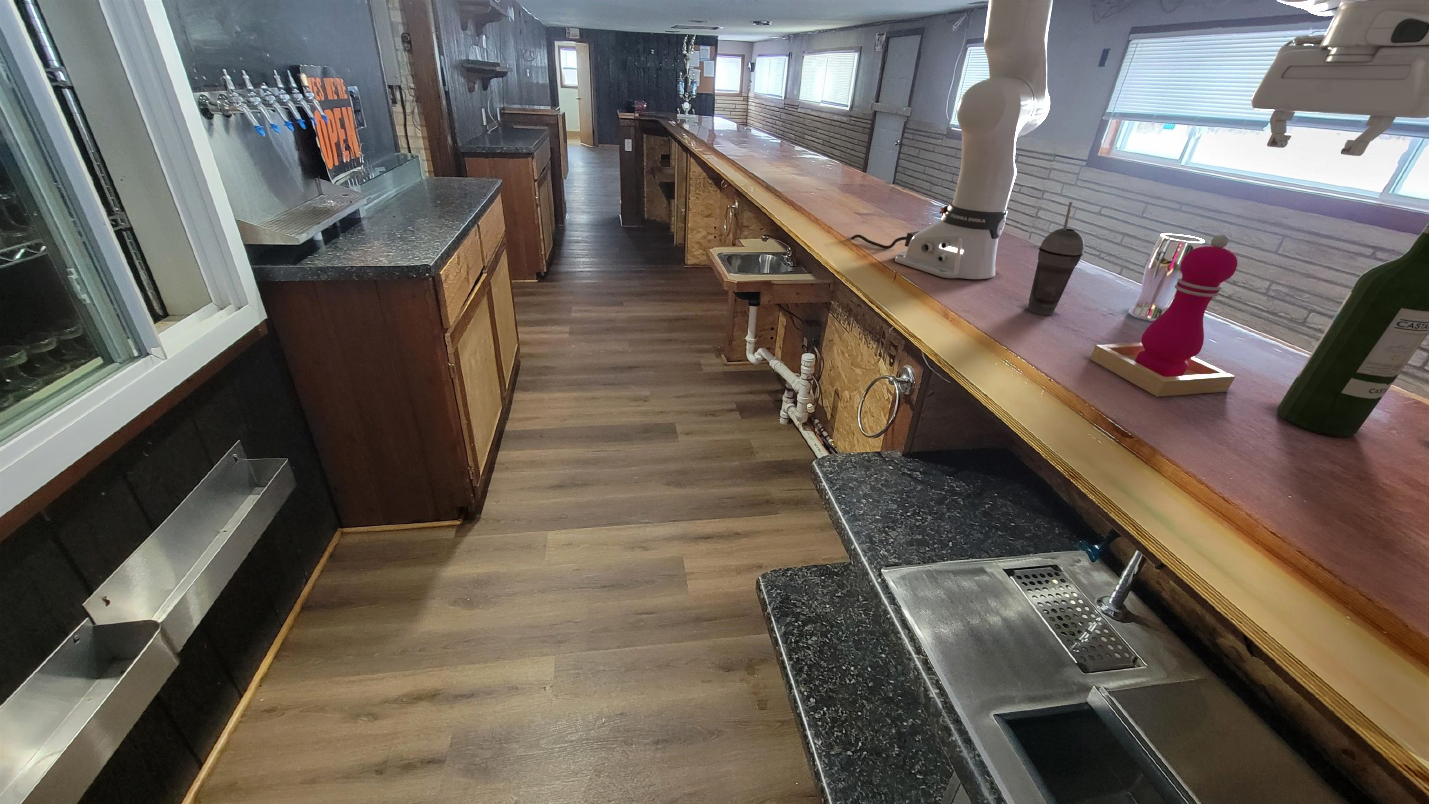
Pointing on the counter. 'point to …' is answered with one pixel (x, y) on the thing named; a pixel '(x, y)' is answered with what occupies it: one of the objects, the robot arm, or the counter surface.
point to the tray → (1192, 382)
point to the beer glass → (1162, 275)
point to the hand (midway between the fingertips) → (1311, 151)
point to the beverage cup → (1055, 267)
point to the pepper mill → (1187, 310)
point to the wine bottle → (1363, 346)
